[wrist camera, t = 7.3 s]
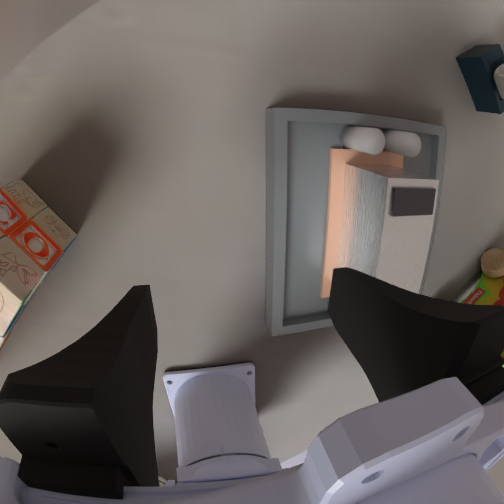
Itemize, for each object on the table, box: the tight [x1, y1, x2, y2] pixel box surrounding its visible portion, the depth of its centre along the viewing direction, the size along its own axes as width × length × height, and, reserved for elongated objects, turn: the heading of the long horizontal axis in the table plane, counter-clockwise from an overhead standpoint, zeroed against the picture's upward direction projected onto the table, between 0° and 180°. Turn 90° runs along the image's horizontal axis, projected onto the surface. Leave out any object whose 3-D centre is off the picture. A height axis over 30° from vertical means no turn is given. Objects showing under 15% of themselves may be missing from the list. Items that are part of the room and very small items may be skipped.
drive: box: [337, 164, 439, 294], centre depth 20 cm, size 9×4×5 cm, turn 0°
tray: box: [265, 108, 446, 337], centre depth 21 cm, size 16×14×4 cm
